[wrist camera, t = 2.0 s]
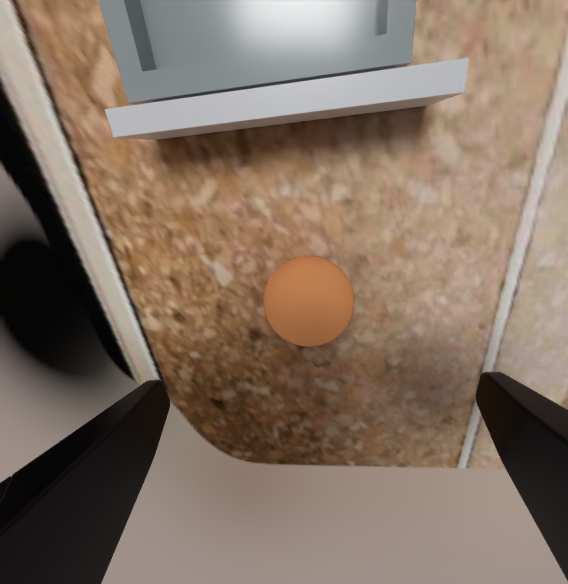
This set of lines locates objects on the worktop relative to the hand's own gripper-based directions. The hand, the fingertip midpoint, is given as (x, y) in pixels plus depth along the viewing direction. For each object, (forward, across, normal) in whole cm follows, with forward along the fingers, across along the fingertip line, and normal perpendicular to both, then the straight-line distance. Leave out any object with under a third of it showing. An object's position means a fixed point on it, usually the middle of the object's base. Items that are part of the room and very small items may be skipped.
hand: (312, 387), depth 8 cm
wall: (+7, +1, -8) cm, 10 cm away
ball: (+7, 0, 0) cm, 7 cm away
